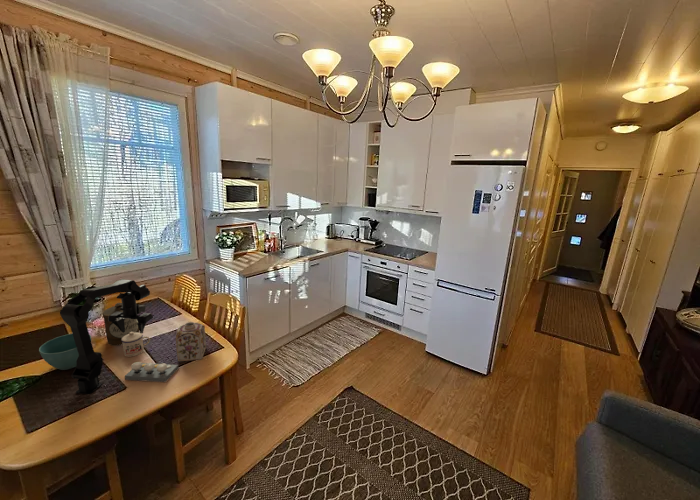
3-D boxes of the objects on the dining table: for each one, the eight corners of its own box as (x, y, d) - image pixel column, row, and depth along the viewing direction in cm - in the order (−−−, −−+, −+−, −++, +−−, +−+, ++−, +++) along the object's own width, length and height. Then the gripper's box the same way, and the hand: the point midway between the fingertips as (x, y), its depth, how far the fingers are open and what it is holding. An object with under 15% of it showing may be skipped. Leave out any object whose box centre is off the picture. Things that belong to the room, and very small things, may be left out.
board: (165, 382, 137) (165, 378, 136) (125, 379, 137) (124, 375, 137) (178, 368, 146) (178, 364, 146) (140, 366, 147) (140, 362, 146)
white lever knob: (163, 375, 138) (163, 368, 137) (155, 374, 138) (154, 368, 137) (169, 370, 142) (168, 363, 141) (161, 369, 142) (160, 363, 141)
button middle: (151, 374, 138) (150, 368, 137) (142, 374, 138) (141, 367, 137) (156, 369, 142) (156, 362, 141) (148, 368, 142) (147, 362, 141)
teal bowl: (101, 361, 149) (97, 339, 146) (52, 382, 134) (47, 358, 131) (86, 350, 158) (82, 329, 155) (38, 367, 142) (33, 345, 140)
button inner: (138, 373, 138) (137, 367, 137) (130, 373, 138) (129, 366, 137) (144, 368, 142) (143, 362, 141) (136, 368, 142) (135, 361, 141)
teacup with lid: (124, 359, 152) (120, 338, 149) (123, 350, 158) (120, 331, 156) (152, 351, 159) (149, 331, 156) (149, 343, 166) (147, 324, 163)
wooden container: (114, 348, 160) (108, 311, 155) (102, 340, 167) (96, 304, 162) (144, 337, 172) (140, 302, 167) (132, 329, 180) (127, 295, 174)
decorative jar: (177, 362, 151) (173, 330, 147) (183, 349, 162) (180, 319, 158) (202, 359, 154) (200, 328, 150) (207, 347, 165) (204, 317, 161)
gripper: (158, 298, 155) (161, 326, 159) (122, 297, 155) (126, 324, 159) (143, 307, 144) (146, 336, 148) (105, 305, 145) (109, 334, 148)
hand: (132, 332), depth 151 cm, fingers open, 9 cm apart
